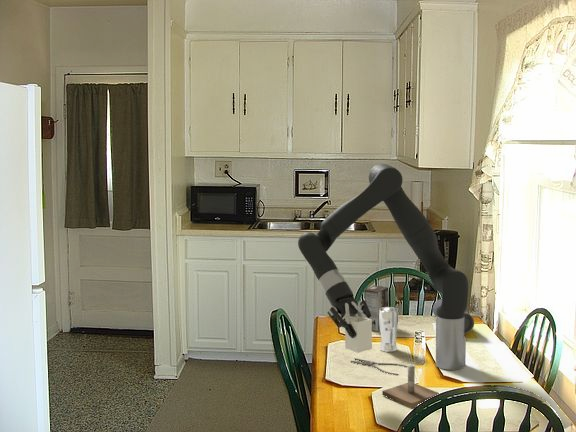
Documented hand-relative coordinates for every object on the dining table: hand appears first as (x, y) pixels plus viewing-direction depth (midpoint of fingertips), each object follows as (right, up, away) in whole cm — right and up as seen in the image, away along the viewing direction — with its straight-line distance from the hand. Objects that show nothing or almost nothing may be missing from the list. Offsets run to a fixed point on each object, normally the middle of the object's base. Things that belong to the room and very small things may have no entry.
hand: (362, 334), depth 205 cm
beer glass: (+15, -14, +47) cm, 51 cm away
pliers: (+8, -17, +29) cm, 34 cm away
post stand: (+15, -19, +3) cm, 24 cm away
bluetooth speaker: (+44, -10, +71) cm, 84 cm away
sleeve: (-1, -5, +2) cm, 5 cm away
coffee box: (+14, -10, +75) cm, 77 cm away
